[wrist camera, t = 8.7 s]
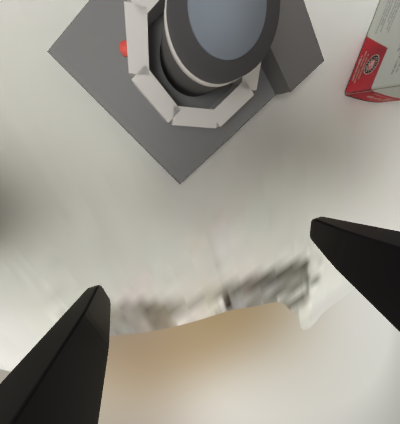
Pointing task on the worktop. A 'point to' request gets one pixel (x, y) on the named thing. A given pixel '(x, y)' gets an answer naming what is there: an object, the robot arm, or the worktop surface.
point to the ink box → (379, 58)
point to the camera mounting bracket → (163, 91)
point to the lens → (214, 41)
